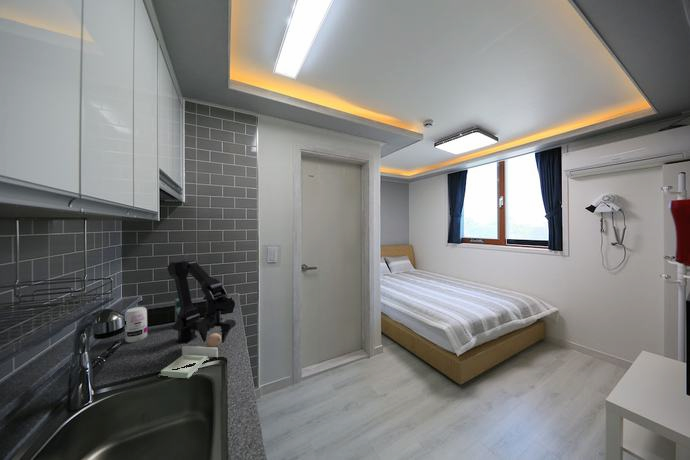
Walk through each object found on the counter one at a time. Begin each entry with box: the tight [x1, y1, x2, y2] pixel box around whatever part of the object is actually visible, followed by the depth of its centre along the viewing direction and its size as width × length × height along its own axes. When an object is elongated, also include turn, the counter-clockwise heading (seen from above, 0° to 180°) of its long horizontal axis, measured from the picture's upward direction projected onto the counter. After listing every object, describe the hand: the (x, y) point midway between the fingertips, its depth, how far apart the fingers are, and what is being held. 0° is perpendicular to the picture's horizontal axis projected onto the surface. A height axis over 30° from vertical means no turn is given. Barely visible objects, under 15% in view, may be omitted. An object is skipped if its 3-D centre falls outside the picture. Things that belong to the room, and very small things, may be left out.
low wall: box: [181, 345, 219, 358], centre depth 101 cm, size 16×1×4 cm, turn 85°
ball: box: [206, 332, 222, 348], centre depth 108 cm, size 6×6×6 cm
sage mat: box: [158, 354, 211, 379], centre depth 93 cm, size 12×12×2 cm
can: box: [174, 298, 180, 324], centre depth 131 cm, size 6×6×15 cm
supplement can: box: [124, 306, 148, 343], centre depth 115 cm, size 8×8×15 cm
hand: (213, 342), depth 108 cm, fingers open, 9 cm apart
